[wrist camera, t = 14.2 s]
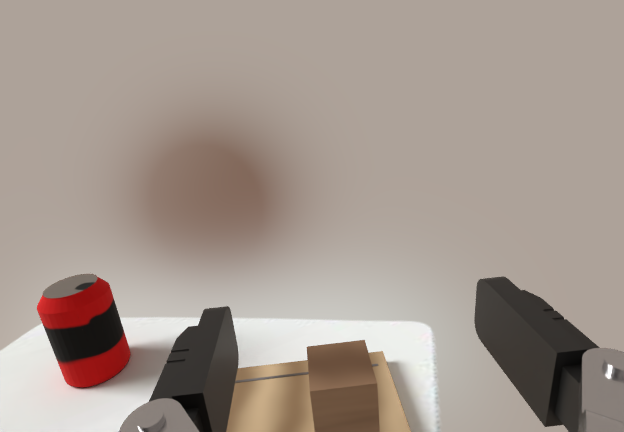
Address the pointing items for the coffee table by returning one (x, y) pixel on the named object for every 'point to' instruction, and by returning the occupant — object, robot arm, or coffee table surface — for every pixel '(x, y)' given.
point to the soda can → (84, 329)
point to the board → (299, 399)
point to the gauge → (343, 388)
